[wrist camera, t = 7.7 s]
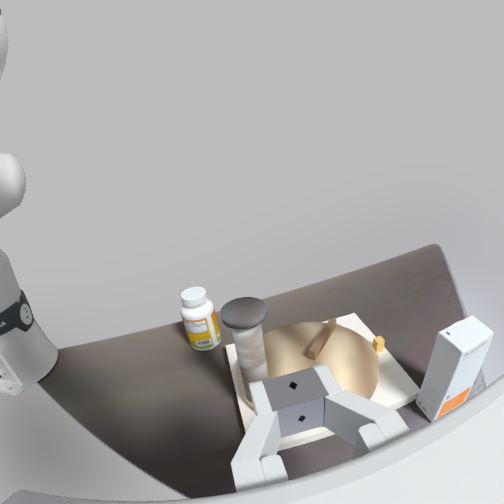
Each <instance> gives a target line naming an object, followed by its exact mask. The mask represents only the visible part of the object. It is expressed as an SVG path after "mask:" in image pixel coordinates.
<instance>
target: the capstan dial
mask: <svg viewBox="0 0 504 504" xmlns="http://www.w3.org/2000/svg"><path fill="white" fill-rule="evenodd" d="M266 316H267V311H266V305H265V303H264V302H263V301H262V300H260V299H258V298H253V297H242V298H237V299H234V300H232V301H230V302H228V303H226V304H225V305H224V306H223V307H222V309H221V317H222V321H223V323H224V324H225V325H226V326H227V327H229V328H231V330H232V334H233V339H234V344H235V349H236V353H237V358H238V366H237V374H236V376H237V382H238V387H239V390H240V393H241V396H242V398H243V399H244V401H245V403H246V404H247V405H248V406H249V408H250V409H252V410H253V411H254V407H253V403H252V398H251V394H250V389H249V383H252V382H257V381H262V380H265V379H270V378H274V377H279V376H283V375H287V374H290V373H293V372H297V371H300V370H304V369H307V368H310V367H314V366H317V365H320V364H323V363H325V364H327V366H328V367H329V369H330V371H331V372H332V374H333V376H334V377H335V379H336V381H337V382H338V384H339V385H340V387H341V389H342V390H343V391H344V390H348V391H350V392H353V393H355V394H357V395H359V396H362V397H364V398H366V399H370V398H371V397H372V395H373V393H374V391H375V389H376V386H377V382H378V377H379V371H380V364H379V359H378V355H377V353H376V351H375V349H374V348H373V346H372V345H371V344H370V343H369V342H368V340H367V339H365V338H364V337H363V336H362V335H360V334H358V333H357V332H355V331H353V330H351V329H349V328H346V327H343V326H340V325H336V320H337V319H333V318H330V319H329V321H328V322H327V323H322V322H304V323H296V324H291V325H287V326H283V327H280V328H277V329H274V330H272V331H270V332H268V333H266V334H264V335H263V334H262V327H261V323H262V322H263V321H264V320H265V318H266ZM254 412H255V411H254ZM321 427H324V426H321ZM317 428H318V427H317Z"/></svg>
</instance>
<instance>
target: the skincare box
mask: <svg viewBox="0 0 504 504" xmlns="http://www.w3.org/2000/svg"><path fill="white" fill-rule="evenodd" d="M493 334H494V332H493V331H492V330H490V329H489V328H488V327H486V326H485V325H484V324H483V323H481V322H480V321H479V320H477V319H476V318H475V317H474V316H472V315H471V316H469V317H467V318H466V319H464V320H462V321H458V322H456V323H454V324H453V325H451V326H450V327H448V328H446V329H444V330H442V331H440V332H438V334H437V338H436V342H435V345H434V349H433V352H432V355H431V359H430V362H429V365H428V368H427V371H426V374H425V377H424V380H423V383H422V386H421V389H420V391H419V394H418V397H417V400H416V404H417V405H418V407H419V408H420V409H421V410H422V411H423V413H424V414H425V415H426V416H427V418H428V419H429V420H430V422H433V421H435V420H437V419H438V418H440V417H442V416H443V415H445V414H447V413H448V412H450V411H452V410H453V409H455V408H456V407H458V406H459V405H461V404H463V403H464V401H465V399H466V397H467V395H468V393H469V391H470V389H471V387H472V385H473V383H474V381H475V379H476V376H477V374H478V372H479V370H480V367H481V365H482V363H483V360H484V357H485V355H486V353H487V350H488V348H489V345H490V343H491V340H492V337H493Z"/></svg>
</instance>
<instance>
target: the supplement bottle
mask: <svg viewBox="0 0 504 504" xmlns="http://www.w3.org/2000/svg"><path fill="white" fill-rule="evenodd" d="M181 300H182V303H183V305H182V307H181V316H182V319H183V322H184V326H185V329H186V332H187V335H188V339H189V342H190V345H191V346H192V347H193V348H194V349H196V350H199V351H206V350H210V349H213V348H215V347H216V346H217V345H218V344H219V343H220V341H221V335H220V331H219V327H218V323H217V318H216V314H215V310H214V306H213V303H212V302H211V301H210V300H209V299H207V294H206V290H205V289H204V288H202V287H192V288H189V289H186V290H185V291H183V292H182V294H181Z"/></svg>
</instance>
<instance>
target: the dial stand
mask: <svg viewBox="0 0 504 504" xmlns="http://www.w3.org/2000/svg"><path fill="white" fill-rule="evenodd" d="M336 319H337V320H336V325H340V326H343V327H346V328H349V329H351V330H353V331H355V332H357V333H358V334H360V335H362V336H363V337H364V338H365V339H367V340H368V342H369V343H370V344H371V345H372V346H373V348H374V349H375V351H376V353H377V355H378V359H379V364H380V371H379V377H378V382H377V386H376V389H375V391H374V393H373V395H372V397H371V398H370V399H369V400H371V401H373V402H376V403H378V404H381V405H383V406H385V407H388V408H390V409H393V410H396V409H398V408H400V407H402V406H404V405H406V404H408V403H410V402H412V401H414V400H416V399H417V397H418V394H419V391H420V389H419V387H418V386H417V385H416V384H415V383H414V381H413V380H412V379H411V378H410V377H409V375H408V374H407V373H406V372H405V371H404V370H403V368H402V367H401V366H400V365H399V364H398V363H397V361H396V360H395V359H394V358H393V357H392V355H391V354H390V353H389V352H388V351H387V350H386V349H385V347H384V342H385V340H384V339H383V338H382V337H381V336H378V337H375V336H374V335H373V334H372V332H371V331H370V330H369V329H368V328H367V327H366V326H365V324H364V323H363V322H362V321H361V320H360V319H359V318H358V317H357V315H356V314H355V313H353V314H350V315H346V316H343V317H339V318H336ZM327 322H328V321H325V322H322V323H327ZM226 350H227V354H228V359H229V364H230V368H231V373H232V377H233V382H234V386H235V390H236V395H237V399H238V403H239V407H240V412H241V416H242V420H243V424H244V428H245V432H246V431H247V429H248V427H249V425H250V423H251V421H252V419H253V417H254V416H256V415H255V412H254V411H253V410H252V409H250V408H249V406H248V405H247V404H246V403H245V401H244V399H243V398H242V396H241V393H240V390H239V387H238V382H237V376H236V374H237V366H238V358H237V353H236V349H235V344H230V345H226ZM333 434H335V433H333V432H332V431H330V430H328V429H327V428H325V427H318V428H314V429H311V430H307V431H303V432H300V433H297V434H294V435H290V436H287V437H284V438H281V442H280V445H279V448H278V451H280V450H284V449H288V448H292V447H295V446H299V445H302V444H305V443H309V442H312V441H315V440H318V439H321V438H324V437H327V436H330V435H333Z"/></svg>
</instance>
